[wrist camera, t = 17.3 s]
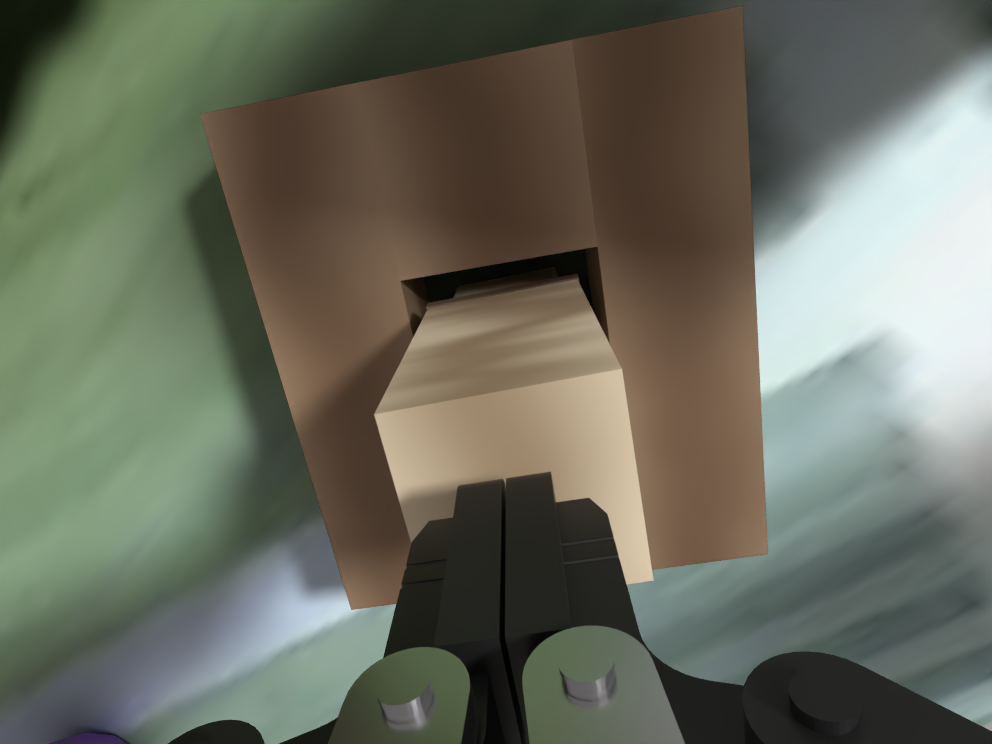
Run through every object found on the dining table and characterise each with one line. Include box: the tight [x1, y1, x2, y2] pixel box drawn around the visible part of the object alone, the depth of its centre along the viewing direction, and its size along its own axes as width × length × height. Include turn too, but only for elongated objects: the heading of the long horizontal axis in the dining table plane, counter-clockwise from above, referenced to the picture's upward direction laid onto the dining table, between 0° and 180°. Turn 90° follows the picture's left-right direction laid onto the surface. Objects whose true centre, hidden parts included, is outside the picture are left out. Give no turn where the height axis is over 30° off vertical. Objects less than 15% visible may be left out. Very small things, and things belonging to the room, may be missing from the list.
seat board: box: [200, 5, 768, 610], centre depth 21 cm, size 14×16×4 cm
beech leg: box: [374, 267, 653, 585], centre depth 17 cm, size 4×4×12 cm
